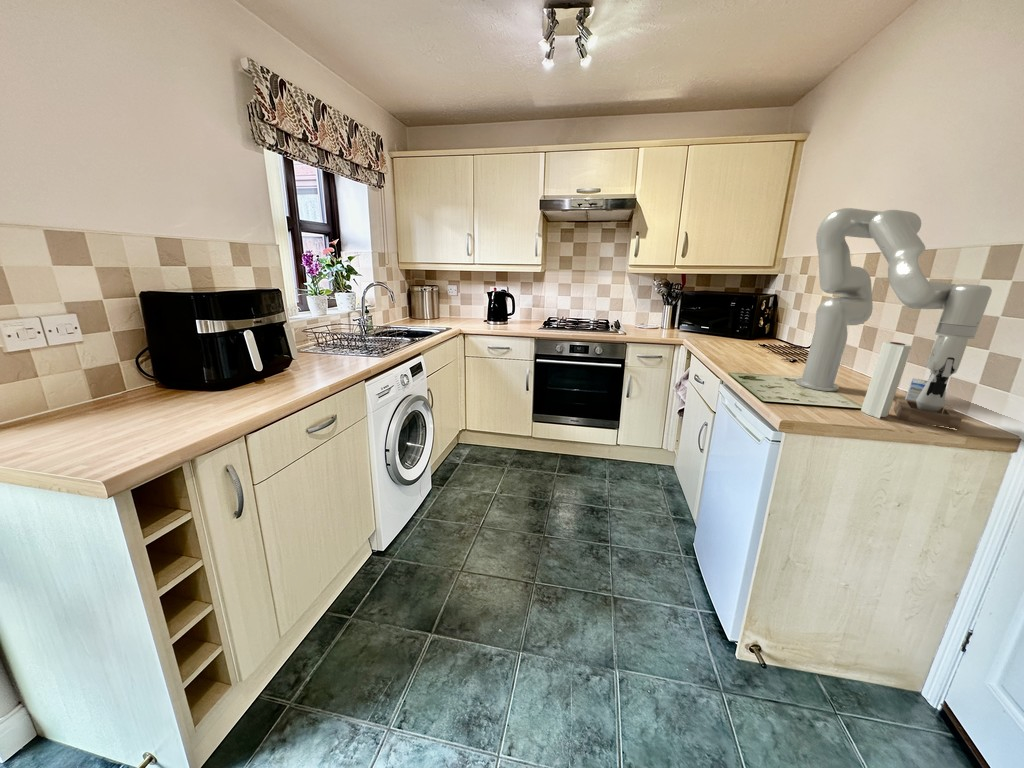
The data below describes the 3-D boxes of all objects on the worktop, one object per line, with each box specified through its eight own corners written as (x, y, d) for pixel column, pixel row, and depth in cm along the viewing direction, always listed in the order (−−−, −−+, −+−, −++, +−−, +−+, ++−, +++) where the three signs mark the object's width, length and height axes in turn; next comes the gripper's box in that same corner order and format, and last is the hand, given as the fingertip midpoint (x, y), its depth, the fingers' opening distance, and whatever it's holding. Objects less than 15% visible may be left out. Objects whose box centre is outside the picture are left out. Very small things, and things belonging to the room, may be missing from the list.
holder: (893, 408, 126) (897, 397, 125) (947, 418, 119) (951, 407, 118) (898, 419, 117) (902, 407, 116) (957, 430, 110) (962, 418, 109)
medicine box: (903, 403, 132) (912, 377, 130) (922, 407, 129) (931, 381, 127) (901, 408, 127) (911, 382, 124) (921, 412, 124) (931, 385, 121)
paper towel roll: (866, 409, 124) (889, 340, 118) (891, 416, 119) (916, 344, 113) (854, 412, 121) (877, 341, 115) (879, 419, 116) (904, 346, 110)
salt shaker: (947, 414, 114) (964, 370, 110) (923, 412, 115) (939, 368, 111) (931, 407, 120) (946, 365, 116) (908, 405, 121) (923, 363, 117)
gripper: (931, 326, 119) (910, 386, 124) (942, 332, 106) (919, 398, 112) (967, 330, 115) (944, 391, 120) (984, 336, 102) (958, 405, 108)
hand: (932, 394), depth 116 cm, fingers closed on salt shaker, 3 cm apart
